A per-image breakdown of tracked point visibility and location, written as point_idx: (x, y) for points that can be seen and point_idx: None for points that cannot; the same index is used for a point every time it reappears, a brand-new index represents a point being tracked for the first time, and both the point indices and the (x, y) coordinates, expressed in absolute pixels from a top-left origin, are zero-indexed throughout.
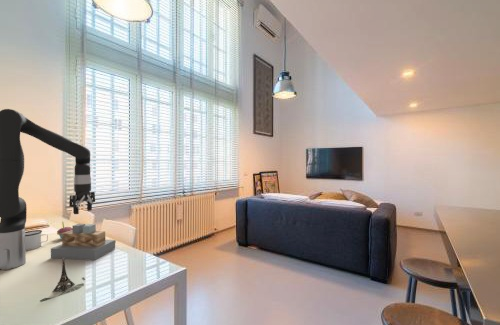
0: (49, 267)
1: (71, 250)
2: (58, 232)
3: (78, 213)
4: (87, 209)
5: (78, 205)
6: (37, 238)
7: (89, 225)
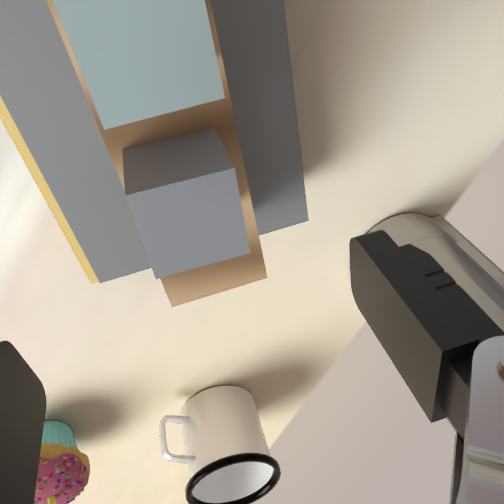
0: (400, 28)
1: (284, 40)
2: (87, 471)
3: (359, 236)
4: (41, 410)
5: (486, 391)
6: (218, 433)
7: (156, 25)
